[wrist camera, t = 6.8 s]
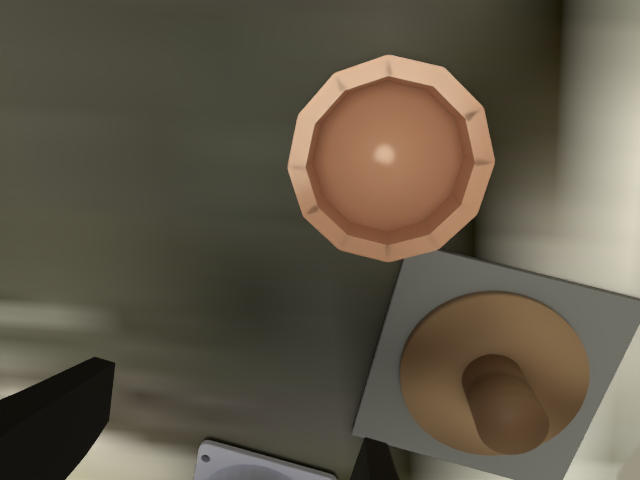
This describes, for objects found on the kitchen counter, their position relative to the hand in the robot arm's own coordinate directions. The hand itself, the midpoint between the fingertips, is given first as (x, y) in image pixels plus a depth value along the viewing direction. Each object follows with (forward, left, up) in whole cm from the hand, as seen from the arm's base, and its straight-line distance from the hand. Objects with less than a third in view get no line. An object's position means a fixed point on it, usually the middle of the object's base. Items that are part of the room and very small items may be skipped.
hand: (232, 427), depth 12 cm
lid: (-2, -10, -10) cm, 14 cm away
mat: (-2, -10, -10) cm, 15 cm away
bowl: (+7, -3, -10) cm, 13 cm away
